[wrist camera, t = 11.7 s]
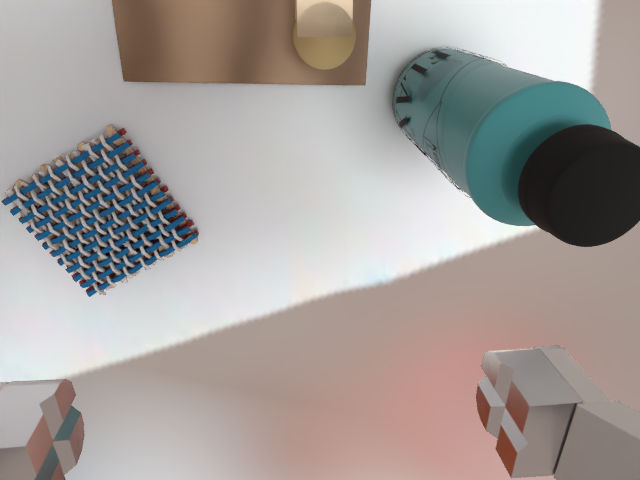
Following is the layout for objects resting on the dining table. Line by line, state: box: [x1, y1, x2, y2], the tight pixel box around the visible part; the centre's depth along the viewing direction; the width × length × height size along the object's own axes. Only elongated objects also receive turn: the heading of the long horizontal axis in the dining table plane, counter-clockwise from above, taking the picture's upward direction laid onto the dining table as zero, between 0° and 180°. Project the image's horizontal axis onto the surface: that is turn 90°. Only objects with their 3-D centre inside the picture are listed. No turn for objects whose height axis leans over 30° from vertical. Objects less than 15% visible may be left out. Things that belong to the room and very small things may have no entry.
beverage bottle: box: [393, 47, 640, 247], centre depth 25 cm, size 6×7×20 cm
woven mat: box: [1, 125, 199, 297], centre depth 35 cm, size 10×11×2 cm
